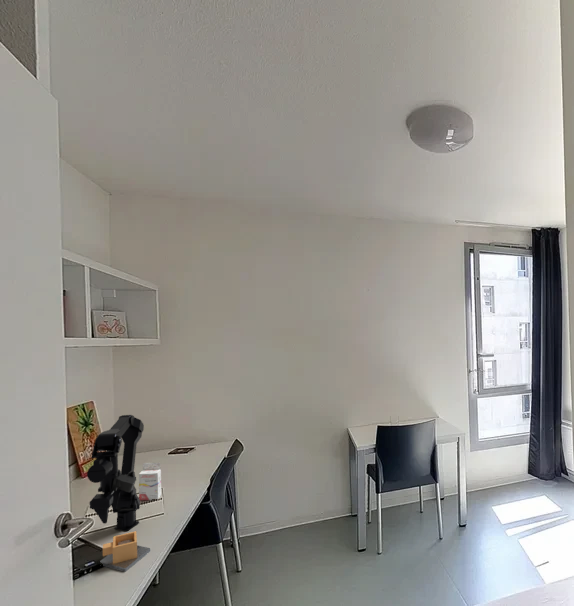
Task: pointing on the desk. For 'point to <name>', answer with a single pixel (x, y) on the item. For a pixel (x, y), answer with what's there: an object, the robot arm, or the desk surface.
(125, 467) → the robot arm
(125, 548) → the tan open-top box
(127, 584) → the desk surface
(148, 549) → the grey plate with tab
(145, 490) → the ink cartridge box
